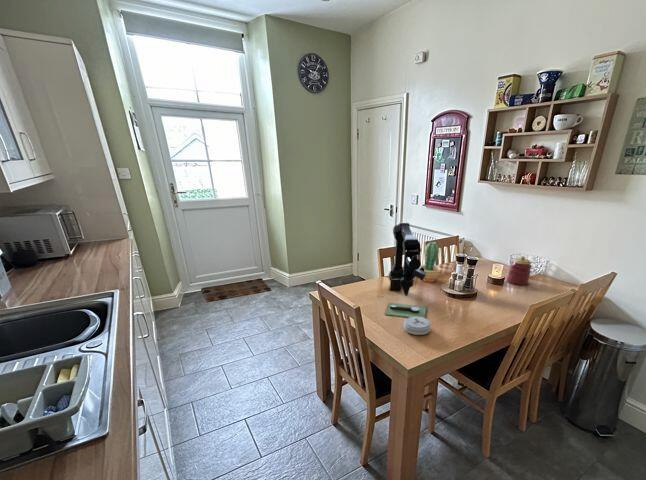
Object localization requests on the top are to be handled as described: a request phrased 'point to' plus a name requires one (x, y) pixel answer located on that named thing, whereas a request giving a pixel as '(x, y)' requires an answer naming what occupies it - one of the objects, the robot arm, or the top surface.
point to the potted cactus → (431, 262)
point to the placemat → (405, 313)
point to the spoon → (406, 309)
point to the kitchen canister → (519, 271)
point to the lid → (417, 325)
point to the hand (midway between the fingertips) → (407, 292)
